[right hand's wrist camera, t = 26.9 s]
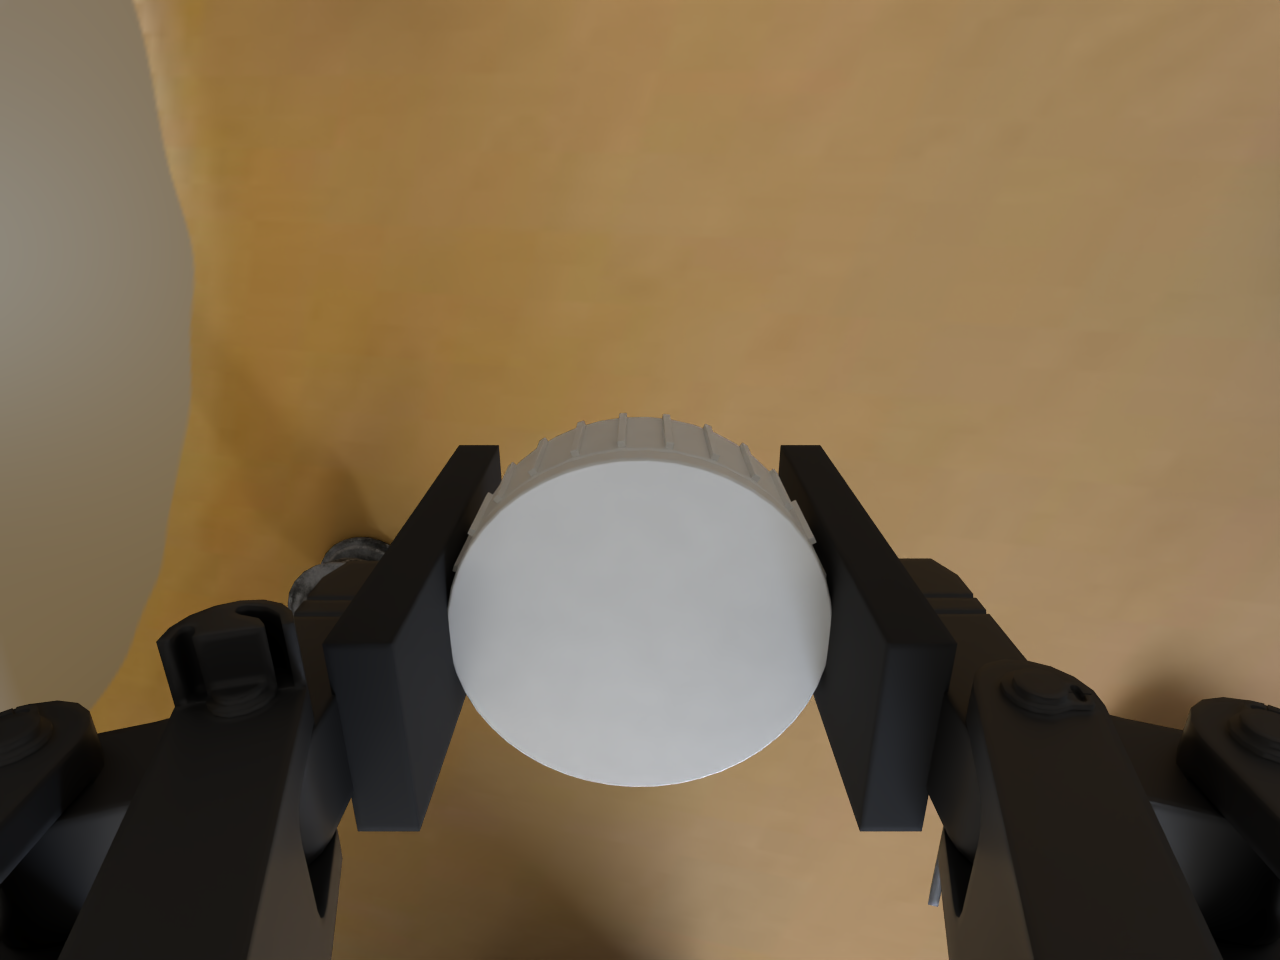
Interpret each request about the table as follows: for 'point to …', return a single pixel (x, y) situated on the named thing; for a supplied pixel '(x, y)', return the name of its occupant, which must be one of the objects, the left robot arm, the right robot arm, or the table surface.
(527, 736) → the lid
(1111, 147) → the table surface
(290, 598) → the dark grey chess piece
